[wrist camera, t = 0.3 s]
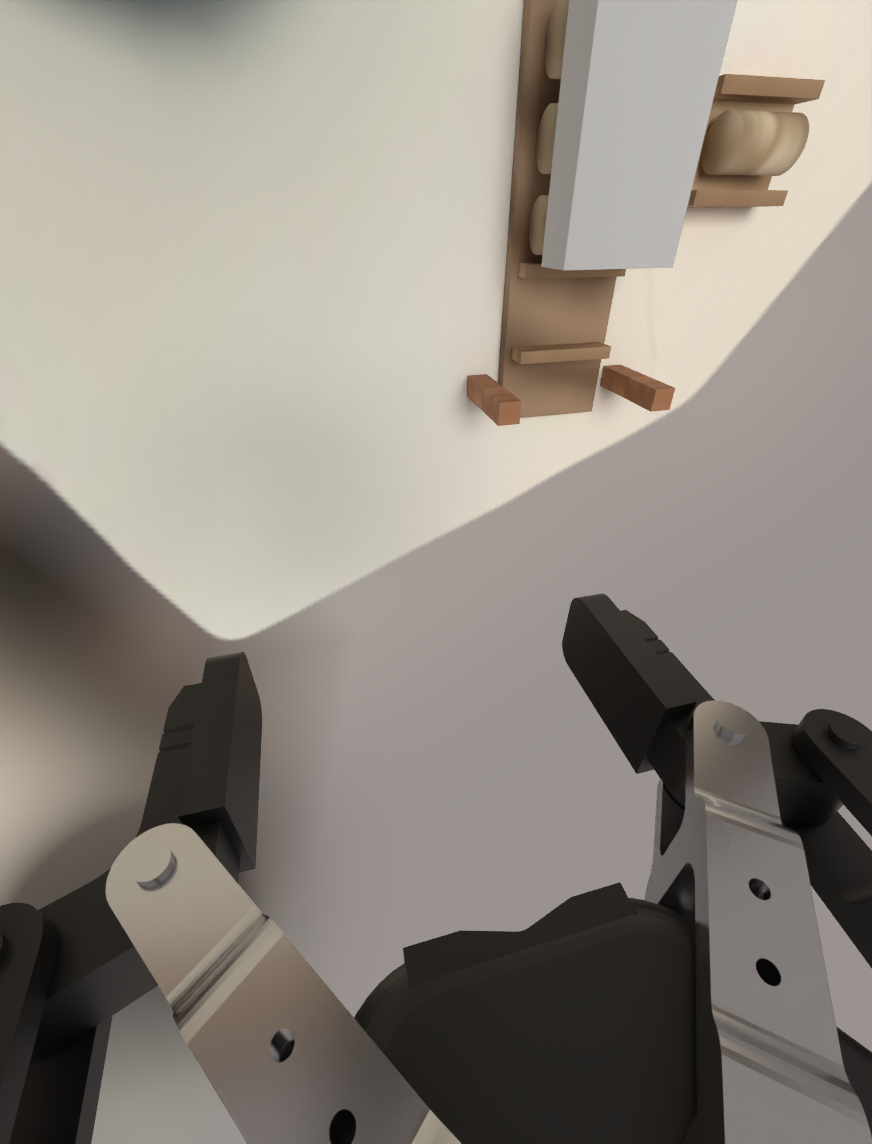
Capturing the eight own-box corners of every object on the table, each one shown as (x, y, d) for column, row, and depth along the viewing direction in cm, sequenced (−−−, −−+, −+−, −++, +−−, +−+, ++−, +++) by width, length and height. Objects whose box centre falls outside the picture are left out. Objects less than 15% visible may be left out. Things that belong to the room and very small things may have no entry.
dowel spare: (709, 116, 30) (746, 103, 28) (775, 119, 31) (817, 107, 29) (695, 177, 32) (729, 171, 29) (759, 178, 33) (796, 172, 30)
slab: (573, -41, 22) (607, -72, 20) (703, -26, 24) (750, -54, 21) (541, 266, 29) (563, 270, 27) (642, 263, 31) (672, 267, 28)
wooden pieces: (480, -24, 25) (535, -93, 19) (811, 9, 29) (934, -41, 24) (466, 418, 39) (496, 450, 33) (693, 398, 43) (753, 424, 37)
